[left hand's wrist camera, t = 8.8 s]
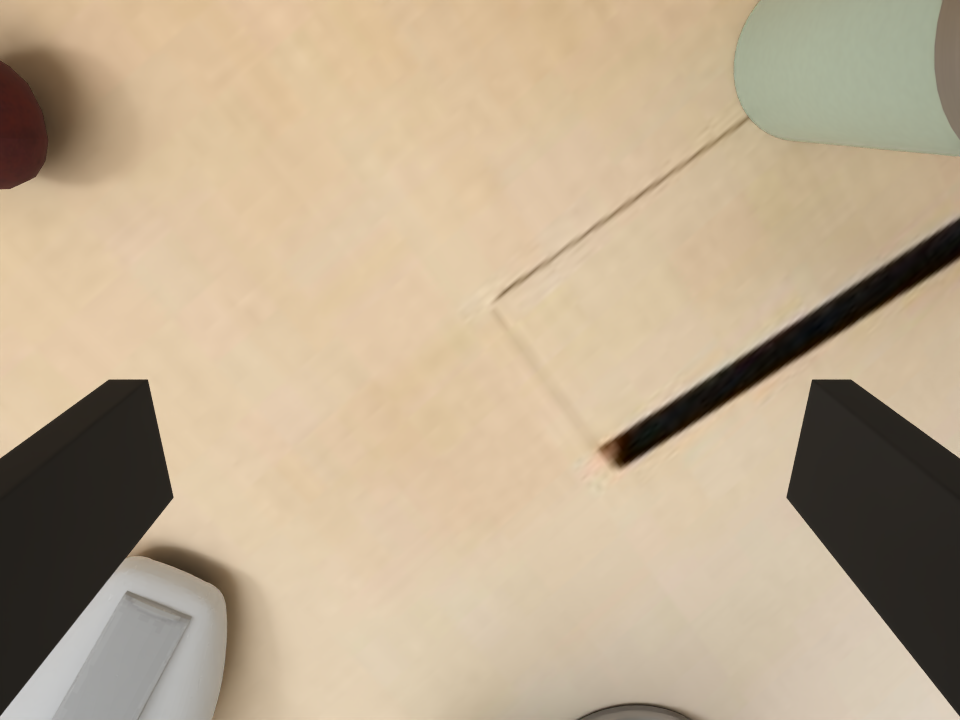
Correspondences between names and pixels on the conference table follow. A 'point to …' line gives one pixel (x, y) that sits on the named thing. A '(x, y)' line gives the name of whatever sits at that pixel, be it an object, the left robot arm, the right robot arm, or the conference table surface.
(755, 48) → the jar
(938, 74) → the lid
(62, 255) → the conference table surface
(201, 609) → the projector
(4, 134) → the dark maroon ball
